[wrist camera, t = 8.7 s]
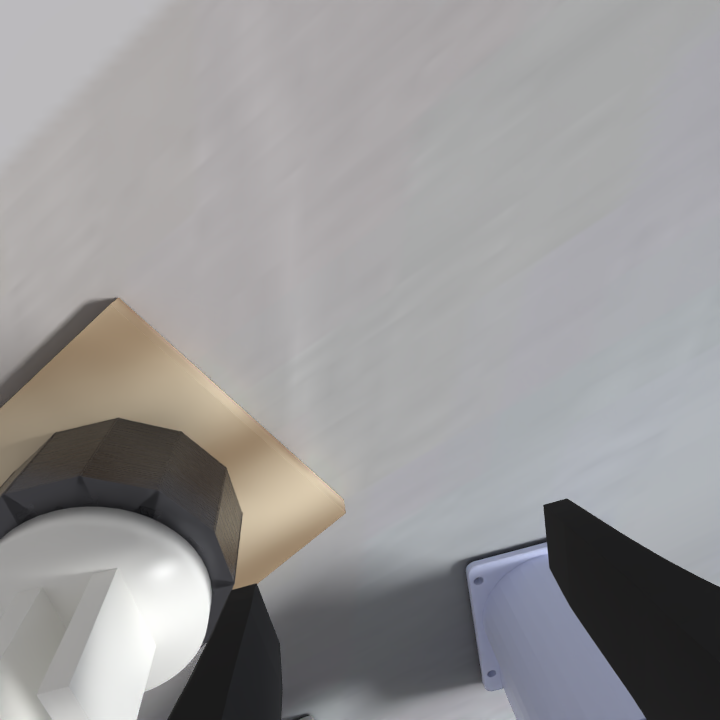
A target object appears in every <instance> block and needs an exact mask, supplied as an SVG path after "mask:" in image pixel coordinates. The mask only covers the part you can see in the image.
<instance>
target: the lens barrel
mask: <svg viewBox="0 0 720 720" xmlns="http://www.w3.org/2000/svg"><path fill="white" fill-rule="evenodd" d="M74 507H108V508H116V509H122V510H126V511H131V512H135V513H138V514H141V515H144V516H147V517H149V518H152V519H154V520H156V521H158V522H160V523H162V524H164V525H166V526H167V527H169V528H170V529H172V530H174V531H175V532H177V533H178V534H179V535H180V536H182V537H183V538H184V539H185V540H186V541H187V542H188V543H189V544H190V545H191V546H192V547H193V548H194V549H195V550H196V552H197V553H198V555H199V556H200V557H201V559H202V561H203V563H204V565H205V567H206V569H207V571H208V574H209V577H210V581H211V588H212V600H211V607H210V613H209V619H208V625H207V630H206V634H205V637H204V640H203V642H202V645H201V647H202V646H203V645H204V644H205V643H207V642H208V640H209V637H210V635H211V633H212V631H213V629H214V626H215V624H216V622H217V620H218V617H219V615H220V613H221V611H222V608H223V606H224V604H225V601H226V599H227V597H228V595H229V593H230V592H231V590H232V589H233V586H234V584H235V577H236V568H237V560H238V551H239V543H240V534H241V526H242V517H243V512H242V510H241V507H240V505H239V502H238V499H237V496H236V493H235V490H234V488H233V485H232V482H231V479H230V476H229V473H228V470H227V467H225V466H224V465H223V464H222V463H220V462H219V461H218V460H217V459H215V458H214V457H213V456H212V455H210V454H209V453H208V452H207V451H205V450H204V449H203V448H202V447H200V446H199V445H198V444H197V443H195V442H194V441H193V440H192V439H190V438H189V437H188V436H187V435H185V434H184V433H183V432H182V431H177V430H172V429H168V428H163V427H158V426H154V425H149V424H145V423H140V422H135V421H131V420H126V419H122V418H115V419H111V420H107V421H102V422H98V423H94V424H90V425H85V426H81V427H77V428H73V429H68V430H64V431H60V432H56V433H54V434H53V435H52V436H51V437H50V438H49V439H48V440H47V441H46V442H45V443H44V444H43V445H42V446H41V447H40V448H39V449H38V450H37V451H36V452H35V453H34V454H33V455H32V456H30V457H29V458H28V459H27V460H26V461H25V462H24V463H23V464H22V465H21V466H20V467H19V468H18V469H17V470H16V471H14V472H13V473H12V474H11V476H10V477H9V478H8V479H7V480H6V481H5V482H4V484H3V485H2V486H1V487H0V539H1V538H2V537H3V536H5V535H6V534H7V533H8V532H10V531H11V530H12V529H14V528H15V527H17V526H19V525H20V524H22V523H24V522H25V521H28V520H30V519H32V518H35V517H37V516H39V515H42V514H46V513H49V512H52V511H56V510H61V509H67V508H74ZM201 647H200V648H201Z"/></svg>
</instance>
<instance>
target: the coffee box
mask: <svg viewBox="0 0 720 720" xmlns="http://www.w3.org/2000/svg"><path fill="white" fill-rule="evenodd" d="M299 720H314V718H313V717H312V716H306V717H304V718H301V719H299Z"/></svg>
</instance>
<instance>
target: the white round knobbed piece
mask: <svg viewBox="0 0 720 720" xmlns="http://www.w3.org/2000/svg"><path fill="white" fill-rule="evenodd" d="M211 600H212V588H211V581H210V577H209V574H208V571H207V569H206V567H205V565H204V563H203V561H202V559H201V557H200V556H199V555H198V553H197V552H196V550H195V549H194V548H193V547H192V546H191V545H190V544H189V543H188V542H187V541H186V540H185V539H184V538H183V537H182V536H180V535H179V534H178V533H177V532H175V531H174V530H172V529H170V528H169V527H167V526H166V525H164V524H162V523H160V522H158V521H156V520H154V519H152V518H149V517H147V516H144V515H141V514H138V513H135V512H131V511H126V510H122V509H116V508H108V507H74V508H67V509H61V510H56V511H52V512H49V513H46V514H42V515H39V516H37V517H35V518H32V519H30V520H28V521H25V522H24V523H22V524H20V525H19V526H17V527H15V528H14V529H12V530H11V531H10V532H8V533H7V534H6V535H5V536H3V537H2V538H1V539H0V720H137V716H138V713H139V709H140V705H141V701H142V697H143V694H144V692H146V691H148V690H151V689H153V688H155V687H157V686H159V685H161V684H163V683H165V682H166V681H168V680H170V679H171V678H172V677H174V676H175V675H176V674H178V673H179V672H180V671H181V670H182V669H183V668H185V667H186V666H187V665H188V664H189V662H190V661H191V660H192V659H193V658H194V656H195V655H196V653H197V652H198V650H199V648H200V647H201V645H202V642H203V640H204V637H205V634H206V630H207V625H208V619H209V613H210V607H211Z"/></svg>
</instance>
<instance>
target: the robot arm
mask: <svg viewBox="0 0 720 720" xmlns="http://www.w3.org/2000/svg"><path fill="white" fill-rule="evenodd" d="M543 506H544V516H545V527H546V538H547V542H546V543H542V544H538V545H534V546H530V547H527V548H523V549H519V550H515V551H511V552H508V553H504V554H500V555H496V556H492V557H489V558H485V559H481V560H477V561H474V562H471V563H470V564H469V565H468V566H467V568H466V575H467V582H468V588H469V595H470V602H471V608H472V615H473V621H474V628H475V635H476V641H477V648H478V654H479V661H480V667H481V674H482V681H483V684H484V687H485V689H486V690H488V691H495V690H499V689H503V688H504V690H505V693H506V695H507V698H508V700H509V702H510V705H511V707H512V709H513V712H514V714H515V717H516V719H517V720H720V587H718V586H716V585H714V584H712V583H710V582H708V581H706V580H704V579H702V578H700V577H698V576H696V575H694V574H692V573H690V572H689V571H687V570H685V569H683V568H681V567H679V566H677V565H675V564H673V563H672V562H670V561H668V560H666V559H664V558H663V557H661V556H659V555H657V554H656V553H654V552H652V551H650V550H649V549H647V548H645V547H644V546H642V545H640V544H639V543H637V542H635V541H634V540H632V539H630V538H629V537H627V536H625V535H624V534H622V533H620V532H619V531H617V530H616V529H614V528H613V527H611V526H609V525H608V524H606V523H605V522H603V521H601V520H600V519H598V518H597V517H595V516H594V515H592V514H591V513H589V512H587V511H586V510H584V509H583V508H581V507H580V506H578V505H576V504H575V503H573V502H572V501H570V500H568V499H564V500H560V501H556V502H553V503H549V504H545V505H543ZM477 577H479V578H478V579H476V578H477ZM281 710H282V673H281V657H280V643H279V640H278V638H277V635H276V633H275V630H274V627H273V625H272V622H271V620H270V617H269V614H268V612H267V609H266V607H265V604H264V601H263V599H262V596H261V594H260V591H259V588H258V586H257V583H255V584H252V585H248V586H244V587H241V588H237V589H233V590H231V592H230V593H229V595H228V597H227V599H226V601H225V604H224V606H223V608H222V611H221V613H220V615H219V617H218V620H217V622H216V624H215V626H214V629H213V631H212V633H211V635H210V637H209V640H208V642H207V644H206V646H205V648H204V650H203V652H202V654H201V656H200V658H199V660H198V662H197V664H196V666H195V668H194V670H193V672H192V675H191V677H190V679H189V680H188V682H187V684H186V686H185V688H184V690H183V692H182V694H181V695H180V697H179V699H178V701H177V703H176V705H175V706H174V708H173V710H172V712H171V714H170V716H169V717H168V719H167V720H281Z"/></svg>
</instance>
